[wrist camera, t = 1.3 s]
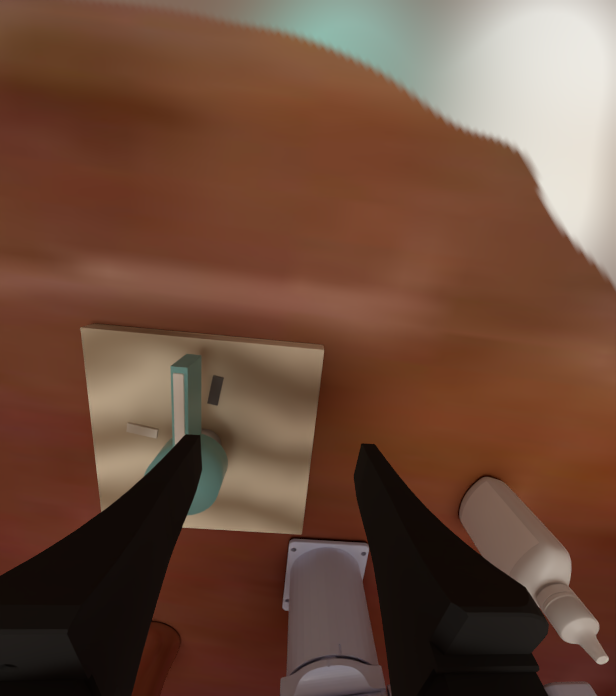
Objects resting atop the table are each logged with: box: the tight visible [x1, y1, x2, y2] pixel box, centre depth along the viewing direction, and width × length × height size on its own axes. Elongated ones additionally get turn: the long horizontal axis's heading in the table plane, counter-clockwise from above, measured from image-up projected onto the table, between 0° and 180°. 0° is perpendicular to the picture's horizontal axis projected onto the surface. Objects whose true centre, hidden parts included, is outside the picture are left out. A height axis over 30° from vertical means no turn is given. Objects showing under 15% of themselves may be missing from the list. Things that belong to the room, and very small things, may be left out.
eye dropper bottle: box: [459, 477, 609, 664], centre depth 22 cm, size 4×6×12 cm
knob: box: [144, 354, 228, 515], centre depth 20 cm, size 11×5×3 cm, turn 174°
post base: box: [80, 324, 324, 535], centre depth 24 cm, size 18×18×4 cm
